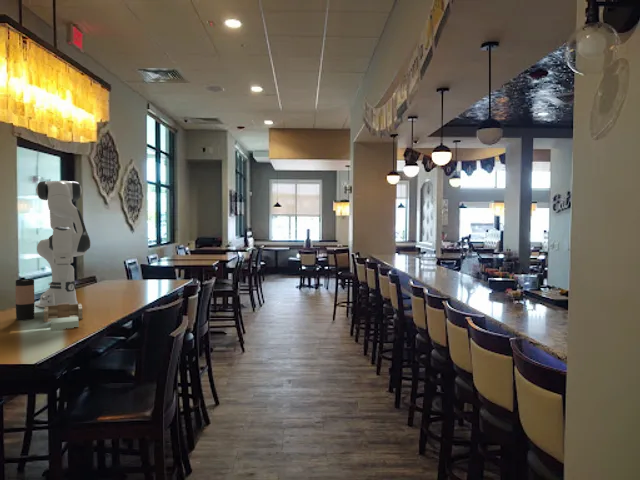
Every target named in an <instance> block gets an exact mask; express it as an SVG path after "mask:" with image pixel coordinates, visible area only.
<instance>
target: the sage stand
mask: <svg viewBox="0 0 640 480" xmlns="http://www.w3.org/2000/svg"><path fill="white" fill-rule="evenodd" d="M79 320H80V319H78V317H66V318H54V319H51V322H50V331H53V330H54V331H55V330H56V329H57V330H65V329H66V328H67V329H75V328H74V327H78V328H80V321H79ZM67 329H66V330H67ZM57 330H56V331H57Z"/></svg>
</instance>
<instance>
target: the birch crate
mask: <svg viewBox="0 0 640 480" xmlns="http://www.w3.org/2000/svg"><path fill="white" fill-rule="evenodd" d="M43 308H44V307H43ZM69 317H78V320H82V319H83V305H82V303H80V302H79V303H77V304H69ZM54 318H58V305H51V306H45V308H44V309H43V322H44V323H48V322H49V323H51V319H54Z"/></svg>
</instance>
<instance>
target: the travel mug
mask: <svg viewBox="0 0 640 480" xmlns="http://www.w3.org/2000/svg"><path fill="white" fill-rule="evenodd" d="M35 301H36V300H35V279H33V278H23V279H22V278H21V279H16V280H15V318H16V321H30V320H34V319H35V304H36V303H35Z"/></svg>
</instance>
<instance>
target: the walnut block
mask: <svg viewBox="0 0 640 480" xmlns="http://www.w3.org/2000/svg"><path fill="white" fill-rule="evenodd" d="M66 317H69V302H67V303H58V318H66Z"/></svg>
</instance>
